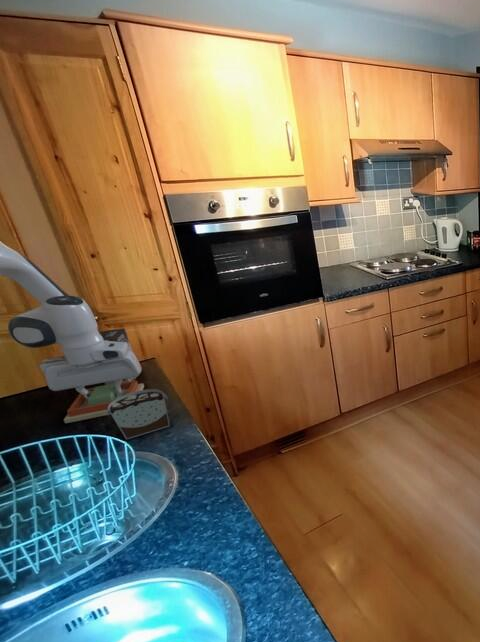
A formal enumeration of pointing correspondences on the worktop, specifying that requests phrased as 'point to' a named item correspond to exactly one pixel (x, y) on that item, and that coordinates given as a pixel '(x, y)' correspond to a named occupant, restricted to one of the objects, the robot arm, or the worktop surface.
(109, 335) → the coffee box
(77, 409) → the orange tray
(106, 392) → the green pad
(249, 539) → the worktop surface
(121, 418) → the food container
